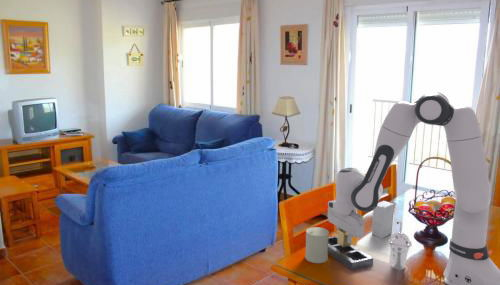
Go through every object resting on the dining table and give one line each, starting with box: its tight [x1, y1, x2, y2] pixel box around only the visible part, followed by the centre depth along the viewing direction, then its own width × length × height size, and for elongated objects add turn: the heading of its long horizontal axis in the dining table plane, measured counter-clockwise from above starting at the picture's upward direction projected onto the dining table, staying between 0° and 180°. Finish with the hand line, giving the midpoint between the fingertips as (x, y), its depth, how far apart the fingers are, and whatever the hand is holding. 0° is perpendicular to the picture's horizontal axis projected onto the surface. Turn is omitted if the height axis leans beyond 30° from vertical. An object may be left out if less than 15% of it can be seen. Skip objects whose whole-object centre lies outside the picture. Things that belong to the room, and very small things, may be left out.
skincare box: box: [371, 200, 395, 239], centre depth 198 cm, size 8×6×15 cm
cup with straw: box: [388, 220, 413, 270], centre depth 166 cm, size 8×9×20 cm
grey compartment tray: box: [328, 235, 374, 271], centre depth 178 cm, size 24×10×3 cm, turn 24°
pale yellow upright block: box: [337, 229, 352, 247], centre depth 177 cm, size 4×4×6 cm
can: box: [304, 226, 330, 264], centre depth 175 cm, size 9×9×12 cm
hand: (344, 239), depth 177 cm, fingers closed on pale yellow upright block, 4 cm apart
